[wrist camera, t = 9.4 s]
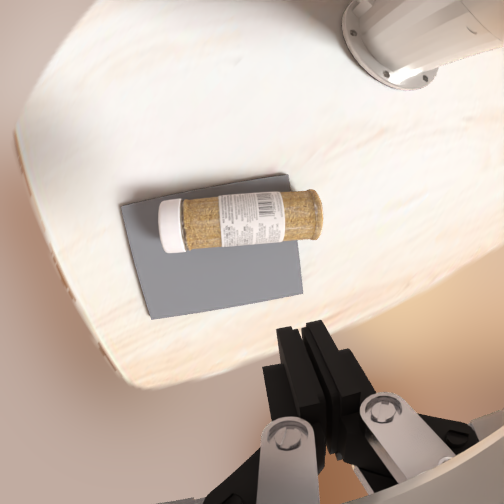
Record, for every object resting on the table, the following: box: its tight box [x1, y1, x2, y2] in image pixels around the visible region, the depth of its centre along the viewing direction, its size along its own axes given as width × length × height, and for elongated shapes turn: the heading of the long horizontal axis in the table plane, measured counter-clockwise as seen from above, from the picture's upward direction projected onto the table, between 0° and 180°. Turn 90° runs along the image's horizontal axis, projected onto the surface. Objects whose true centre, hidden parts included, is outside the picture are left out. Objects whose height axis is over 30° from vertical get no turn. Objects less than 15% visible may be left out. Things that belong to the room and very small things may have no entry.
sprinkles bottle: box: [158, 189, 323, 253], centre depth 25 cm, size 5×5×14 cm
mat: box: [121, 175, 303, 320], centre depth 28 cm, size 16×12×1 cm
